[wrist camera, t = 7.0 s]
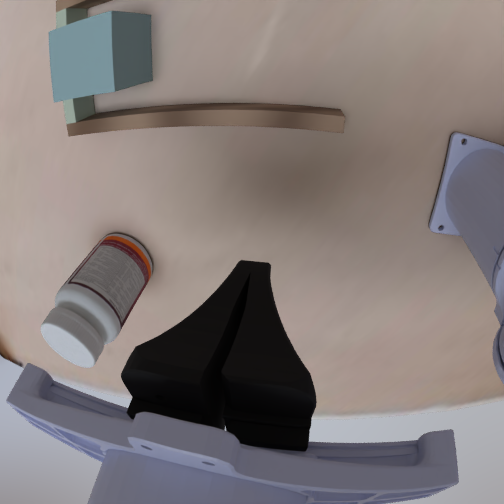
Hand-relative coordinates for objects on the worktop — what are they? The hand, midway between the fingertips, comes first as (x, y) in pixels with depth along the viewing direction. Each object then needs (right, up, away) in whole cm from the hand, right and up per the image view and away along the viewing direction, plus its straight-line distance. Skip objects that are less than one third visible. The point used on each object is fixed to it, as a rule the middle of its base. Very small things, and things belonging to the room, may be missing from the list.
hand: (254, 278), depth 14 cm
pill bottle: (-12, +1, +15) cm, 19 cm away
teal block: (-9, +15, +3) cm, 18 cm away
